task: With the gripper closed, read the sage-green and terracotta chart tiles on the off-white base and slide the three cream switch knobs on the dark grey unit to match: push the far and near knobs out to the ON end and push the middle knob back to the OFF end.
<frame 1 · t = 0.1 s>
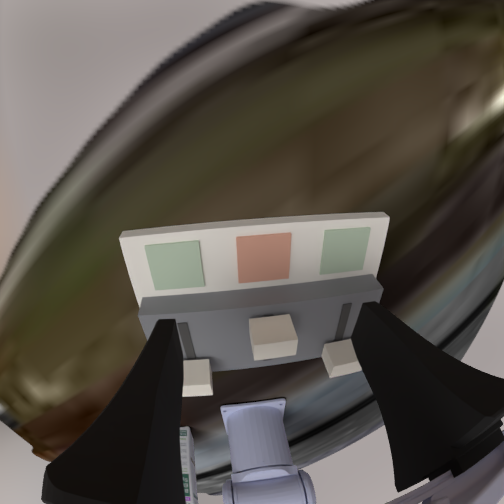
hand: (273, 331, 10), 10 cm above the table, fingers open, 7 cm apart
switch unit: (261, 299, 23), on the table
knob middle: (272, 337, 18), point 5 cm above the table, slide at 4.0 cm
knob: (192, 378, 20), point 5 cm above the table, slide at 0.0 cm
syrup box: (173, 431, 35), on the table
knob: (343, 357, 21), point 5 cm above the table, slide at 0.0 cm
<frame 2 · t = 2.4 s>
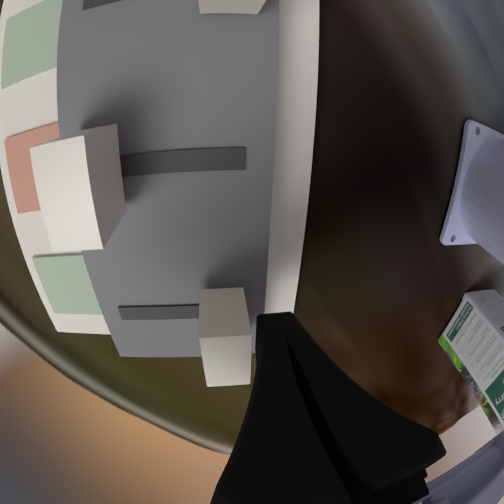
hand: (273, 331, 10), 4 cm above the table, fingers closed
switch unit: (138, 149, 10), on the table
knob middle: (82, 183, 6), point 5 cm above the table, slide at 4.0 cm
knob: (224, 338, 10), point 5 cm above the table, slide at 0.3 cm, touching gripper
syrup box: (466, 312, 21), on the table
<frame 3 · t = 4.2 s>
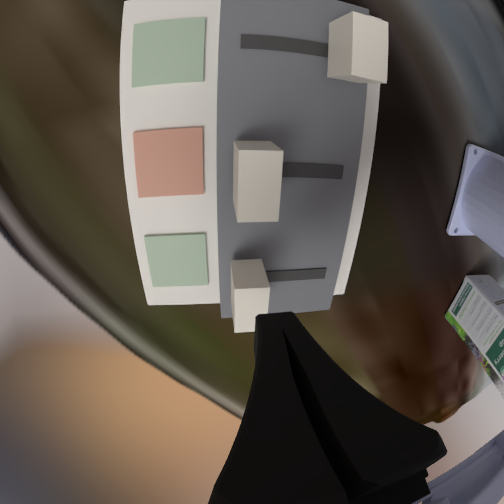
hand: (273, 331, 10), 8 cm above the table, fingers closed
switch unit: (252, 156, 15), on the table
knob middle: (255, 178, 11), point 5 cm above the table, slide at 4.0 cm
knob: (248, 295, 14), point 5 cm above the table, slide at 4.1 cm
syrup box: (466, 293, 25), on the table
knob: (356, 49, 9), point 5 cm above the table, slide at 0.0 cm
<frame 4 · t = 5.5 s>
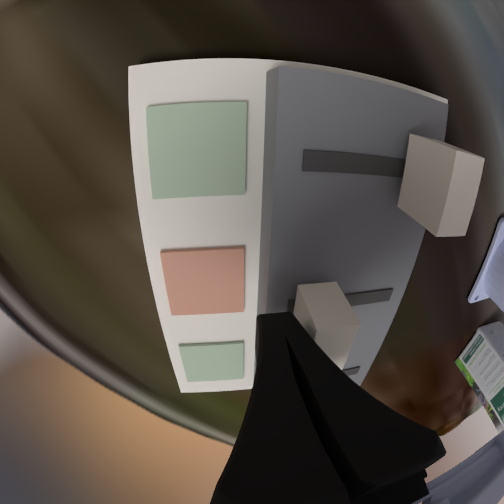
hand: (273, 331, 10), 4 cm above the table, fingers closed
switch unit: (294, 265, 14), on the table
knob middle: (320, 330, 10), point 5 cm above the table, slide at 3.6 cm, touching gripper
syrup box: (477, 339, 24), on the table
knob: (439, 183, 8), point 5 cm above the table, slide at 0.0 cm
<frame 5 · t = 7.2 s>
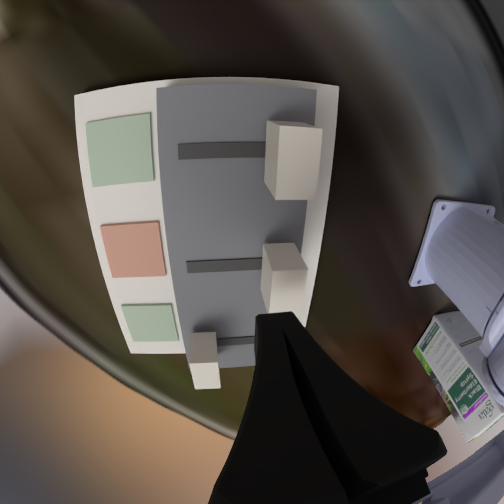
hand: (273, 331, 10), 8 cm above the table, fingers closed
switch unit: (207, 238, 17), on the table
knob middle: (281, 279, 14), point 5 cm above the table, slide at -0.1 cm
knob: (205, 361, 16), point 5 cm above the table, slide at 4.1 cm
syrup box: (437, 328, 28), on the table
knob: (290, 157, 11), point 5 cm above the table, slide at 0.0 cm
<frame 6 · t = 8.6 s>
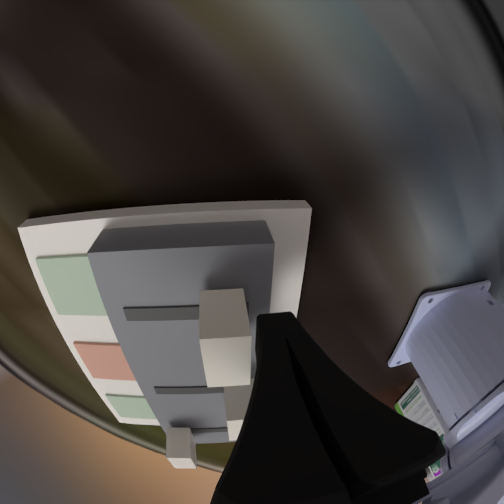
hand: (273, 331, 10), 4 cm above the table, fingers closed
switch unit: (176, 350, 17), on the table
knob middle: (241, 411, 13), point 5 cm above the table, slide at -0.1 cm
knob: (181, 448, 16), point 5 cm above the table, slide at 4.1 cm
syrup box: (420, 385, 27), on the table
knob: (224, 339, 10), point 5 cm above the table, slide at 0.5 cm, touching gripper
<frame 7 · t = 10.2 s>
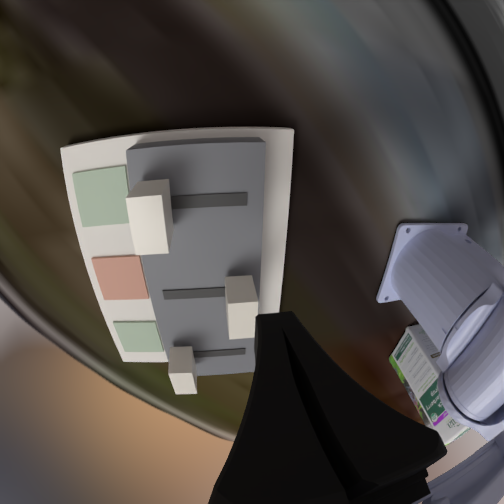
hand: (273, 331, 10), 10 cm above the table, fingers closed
switch unit: (183, 267, 20), on the table
knob middle: (240, 307, 16), point 5 cm above the table, slide at -0.1 cm
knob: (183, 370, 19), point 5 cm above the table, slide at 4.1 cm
syrup box: (413, 338, 30), on the table
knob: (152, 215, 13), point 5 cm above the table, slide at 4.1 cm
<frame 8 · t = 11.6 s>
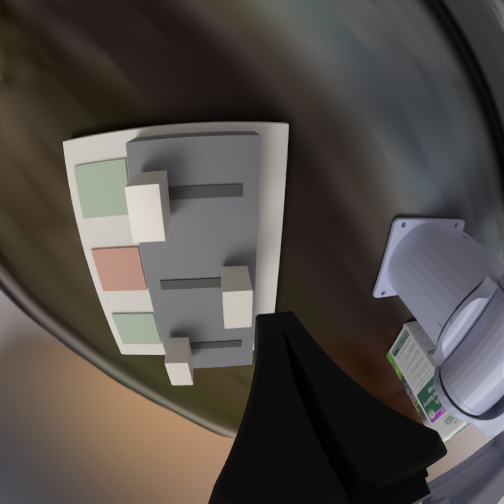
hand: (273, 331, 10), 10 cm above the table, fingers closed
switch unit: (180, 258, 20), on the table
knob middle: (235, 297, 17), point 5 cm above the table, slide at -0.1 cm
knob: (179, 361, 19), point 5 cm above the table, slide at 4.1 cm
syrup box: (410, 334, 30), on the table
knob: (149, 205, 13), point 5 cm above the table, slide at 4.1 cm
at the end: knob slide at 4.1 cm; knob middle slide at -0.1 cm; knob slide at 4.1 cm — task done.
